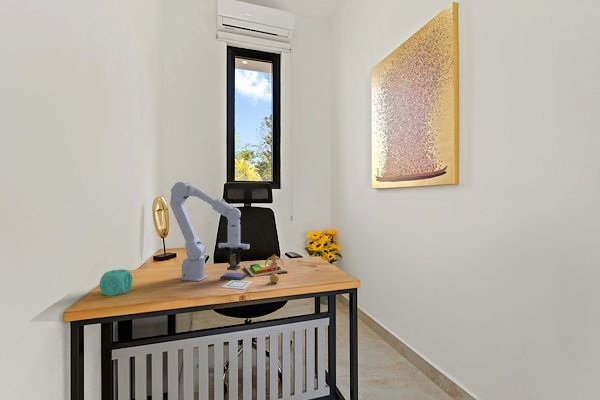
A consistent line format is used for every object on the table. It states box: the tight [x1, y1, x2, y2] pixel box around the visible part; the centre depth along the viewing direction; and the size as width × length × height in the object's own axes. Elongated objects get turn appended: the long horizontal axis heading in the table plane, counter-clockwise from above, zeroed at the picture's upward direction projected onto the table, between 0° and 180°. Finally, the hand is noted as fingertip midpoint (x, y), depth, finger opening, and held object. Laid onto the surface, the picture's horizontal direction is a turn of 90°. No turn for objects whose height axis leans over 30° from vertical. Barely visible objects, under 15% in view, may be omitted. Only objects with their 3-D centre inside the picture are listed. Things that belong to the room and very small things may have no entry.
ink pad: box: [219, 272, 248, 281], centre depth 129 cm, size 10×7×1 cm
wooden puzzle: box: [243, 260, 289, 278], centre depth 142 cm, size 18×19×4 cm
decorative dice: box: [99, 268, 133, 297], centre depth 109 cm, size 8×8×8 cm
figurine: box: [264, 254, 284, 284], centre depth 123 cm, size 8×6×12 cm
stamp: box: [226, 253, 241, 271], centre depth 128 cm, size 4×4×6 cm
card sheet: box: [221, 280, 254, 290], centre depth 119 cm, size 10×10×1 cm
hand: (234, 263), depth 129 cm, fingers closed on stamp, 3 cm apart
